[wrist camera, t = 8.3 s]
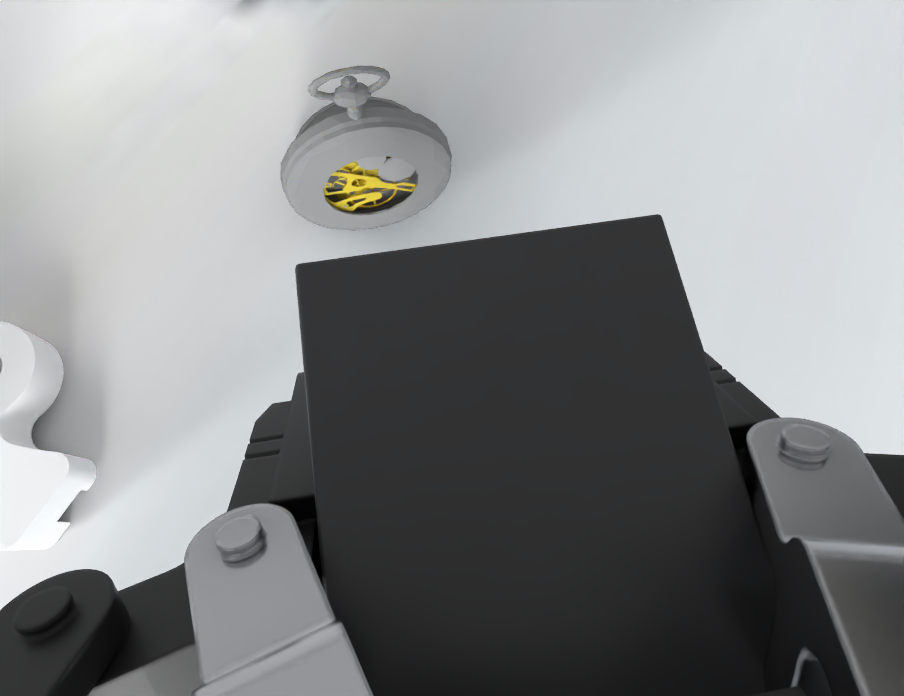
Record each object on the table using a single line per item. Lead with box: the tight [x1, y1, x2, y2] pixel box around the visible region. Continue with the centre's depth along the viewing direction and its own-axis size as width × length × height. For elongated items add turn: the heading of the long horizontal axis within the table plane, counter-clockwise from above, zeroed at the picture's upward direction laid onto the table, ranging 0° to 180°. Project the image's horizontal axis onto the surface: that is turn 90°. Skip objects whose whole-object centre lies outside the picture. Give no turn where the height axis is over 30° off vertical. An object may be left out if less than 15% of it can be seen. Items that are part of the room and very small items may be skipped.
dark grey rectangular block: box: [295, 214, 776, 696], centre depth 11 cm, size 6×5×9 cm
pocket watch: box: [281, 66, 451, 230], centre depth 23 cm, size 8×8×10 cm
